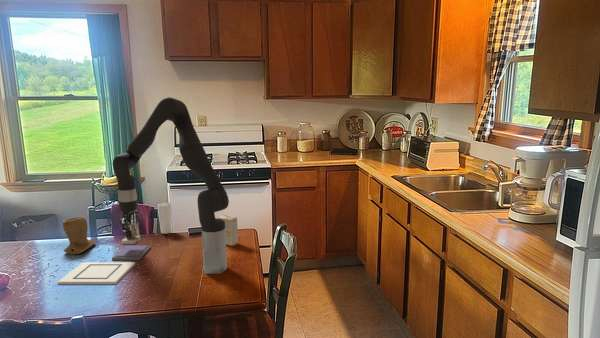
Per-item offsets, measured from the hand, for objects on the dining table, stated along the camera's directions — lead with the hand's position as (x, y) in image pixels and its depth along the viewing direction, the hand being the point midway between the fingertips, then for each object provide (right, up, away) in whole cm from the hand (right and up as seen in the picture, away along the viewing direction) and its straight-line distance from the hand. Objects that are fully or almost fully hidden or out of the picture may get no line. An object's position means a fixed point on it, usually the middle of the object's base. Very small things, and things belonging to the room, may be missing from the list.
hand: (131, 236), depth 185 cm
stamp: (0, -3, 0) cm, 3 cm away
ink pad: (0, -8, +1) cm, 8 cm away
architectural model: (-9, -4, +25) cm, 27 cm away
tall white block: (+6, -3, +29) cm, 30 cm away
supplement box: (+41, -6, +13) cm, 43 cm away
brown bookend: (-27, -7, +7) cm, 29 cm away
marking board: (-5, -12, -19) cm, 23 cm away
